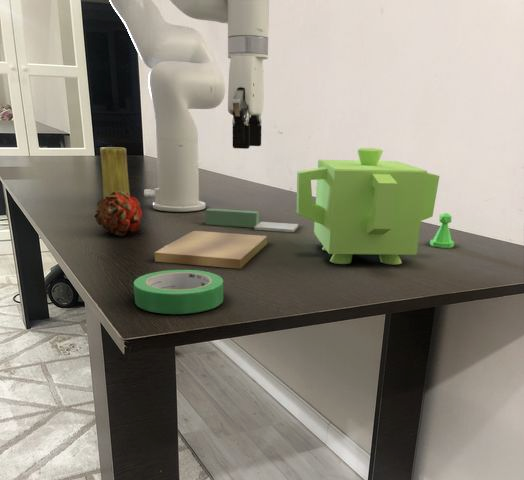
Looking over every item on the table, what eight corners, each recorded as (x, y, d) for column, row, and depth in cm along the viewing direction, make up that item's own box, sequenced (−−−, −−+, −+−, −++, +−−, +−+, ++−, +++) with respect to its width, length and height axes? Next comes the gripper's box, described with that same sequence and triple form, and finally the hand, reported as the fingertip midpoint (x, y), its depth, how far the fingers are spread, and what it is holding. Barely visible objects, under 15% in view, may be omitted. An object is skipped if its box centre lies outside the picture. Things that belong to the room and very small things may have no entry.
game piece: (453, 248, 102) (459, 215, 100) (429, 246, 103) (434, 213, 101) (453, 243, 106) (458, 211, 103) (430, 242, 107) (434, 209, 104)
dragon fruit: (118, 249, 102) (116, 244, 113) (155, 219, 103) (149, 218, 114) (86, 210, 99) (87, 209, 110) (123, 180, 100) (121, 183, 111)
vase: (118, 220, 119) (112, 149, 113) (97, 217, 122) (91, 147, 116) (138, 216, 124) (134, 148, 118) (118, 213, 127) (113, 146, 121)
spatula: (202, 226, 116) (202, 211, 115) (211, 221, 121) (211, 206, 120) (293, 232, 112) (293, 217, 111) (298, 227, 117) (299, 212, 116)
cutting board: (154, 261, 89) (154, 252, 88) (194, 238, 105) (193, 230, 104) (240, 269, 86) (240, 259, 85) (267, 244, 102) (267, 236, 101)
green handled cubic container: (287, 238, 106) (291, 142, 100) (404, 240, 108) (416, 145, 101) (303, 274, 83) (310, 152, 77) (452, 275, 85) (471, 156, 78)
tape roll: (126, 292, 74) (124, 273, 72) (205, 284, 78) (205, 265, 77) (147, 320, 64) (146, 297, 63) (236, 308, 69) (236, 287, 68)
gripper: (240, 54, 113) (240, 144, 120) (214, 44, 98) (216, 148, 104) (277, 54, 112) (274, 145, 118) (256, 44, 96) (255, 150, 103)
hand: (247, 147), depth 111 cm, fingers open, 9 cm apart
